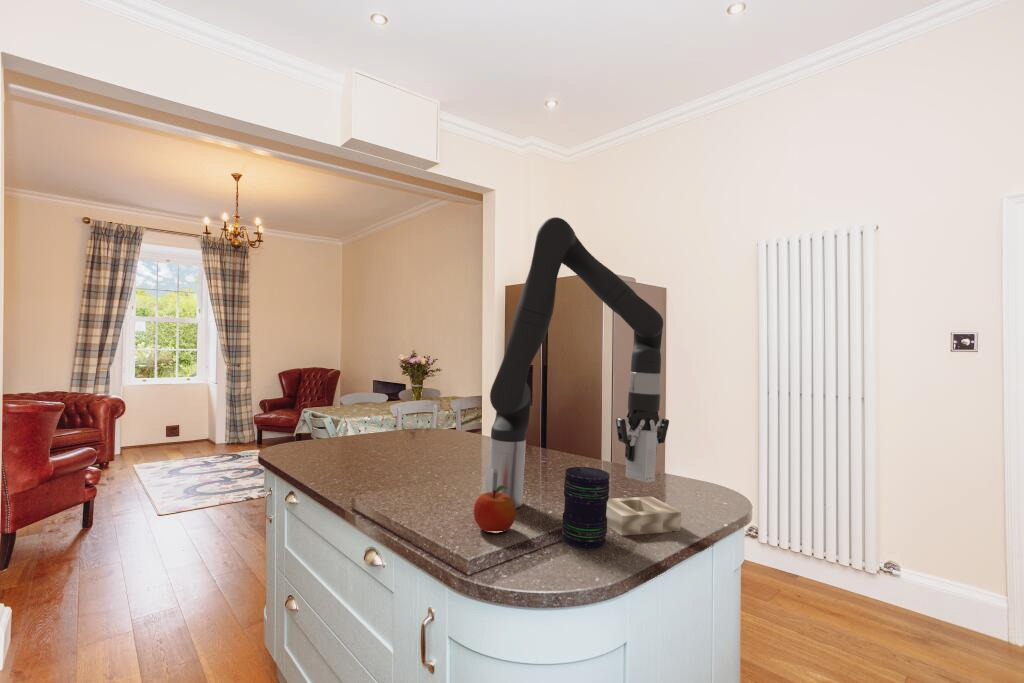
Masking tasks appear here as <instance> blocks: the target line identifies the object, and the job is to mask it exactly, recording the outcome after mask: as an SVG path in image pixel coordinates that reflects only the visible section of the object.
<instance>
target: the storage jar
mask: <svg viewBox="0 0 1024 683" xmlns="http://www.w3.org/2000/svg"><path fill="white" fill-rule="evenodd" d="M564 474H565V476H564V483H563V484H564V485H563V488H564V489H563V496H564V507H563V508H564V510H563V513H562V516H561V517H562V520H561V532H562V534H561V541H562V543H564V544H565V545H567V546H569V547H572V548H573V549H574V548H575V549H579V550H592V551H593V550H598V549H599V550H600V549H602V548H604V547H605V546H606V543H607V541H606V537H607V532H608V526H607V517H606V511H607V501H608V499H610V496H609V495H610V481H609V480H610V478H611V474H610V472H608V471H606V470H603V469H599V468H596V467H588V466H587V467H585V466H574V467H568V468H566V469H565V473H564Z"/></svg>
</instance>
